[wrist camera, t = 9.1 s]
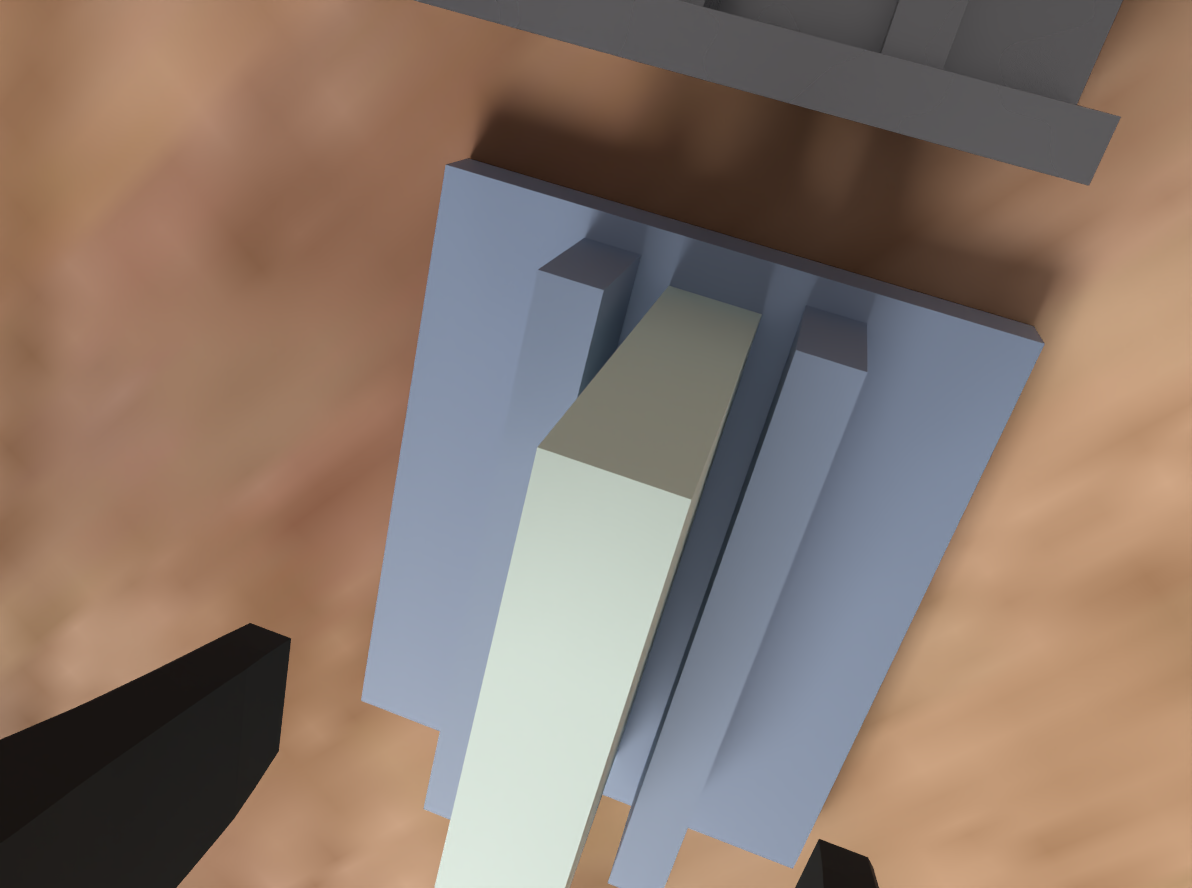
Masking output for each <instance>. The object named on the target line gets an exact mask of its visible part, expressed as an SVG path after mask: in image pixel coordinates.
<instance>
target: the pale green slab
mask: <svg viewBox="0 0 1192 888" xmlns="http://www.w3.org/2000/svg"><path fill="white" fill-rule="evenodd" d="M761 316H762V314H759V313H756V312H753V311H750V310H746V309H743V308H740V307H737V306H733V305H730V304H727V303H724V302H720V301H717V300H714V299H711V298H707V297H704V296H701V295H698V294H694V293H691V292H688V291H685V290H682V289H678V288H675V287H672V286H668V287H667V289H666V290H665V291H664V292H663V293H662V295H661V296H660V297H659V298H658V300H657V301H656V302H655V303H654V305H653V306H652V307H651V308H650V309H649V311H648V312H647V313H646V314H645V316H644V317H643V318H642V319H641V321H640V322H639V323H638V324H637V325H636V327H635V328H634V329H633V330H632V332H631V333H630V334H629V335H628V336H627V338H626V339H625V340H624V341H623V343H622V344H621V345H620V346H619V348H618V349H617V350H616V351H615V352H614V354H613V355H612V356H611V357H610V359H609V360H608V361H607V362H606V363H605V365H604V366H603V367H602V368H601V370H600V371H599V372H598V373H597V375H596V376H595V377H594V378H593V379H592V381H591V382H590V383H589V384H588V386H587V387H586V388H585V389H584V391H583V392H582V393H581V394H580V395H579V397H578V398H577V399H576V400H575V402H574V403H573V404H572V405H571V406H570V408H569V409H568V410H567V411H566V413H565V414H564V415H563V416H562V418H561V419H560V420H559V421H558V422H557V424H556V425H555V426H554V427H553V429H552V430H551V431H550V432H549V433H548V435H547V436H546V437H545V438H544V440H543V441H542V442H541V443H540V445H539V446H538V447H537V451H536V455H535V459H534V463H533V468H532V472H531V476H530V481H529V485H528V489H527V493H526V498H525V502H524V506H523V511H522V515H521V519H520V524H519V528H518V532H517V536H516V541H515V545H514V549H513V554H512V558H511V562H510V566H509V571H508V575H507V579H506V584H505V588H504V592H503V596H502V601H501V605H500V609H499V614H498V618H497V622H496V626H495V631H494V635H493V639H492V644H491V648H490V652H489V656H488V661H487V665H486V669H485V674H484V678H483V682H482V686H481V691H480V695H479V699H478V704H477V708H476V712H475V717H474V721H473V725H472V729H471V734H470V738H469V742H468V747H467V751H466V755H465V759H464V764H463V768H462V772H461V777H460V781H459V785H458V789H457V794H456V798H455V802H454V807H453V811H452V815H451V819H450V824H449V828H448V832H447V837H446V841H445V845H444V849H443V854H442V858H441V862H440V867H439V871H438V875H437V880H436V884H435V888H570V885H571V883H572V880H573V877H574V874H575V871H576V868H577V865H578V863H579V860H580V857H581V854H582V851H583V848H584V845H585V843H586V840H587V837H588V834H589V831H590V828H591V825H592V822H593V820H594V817H595V814H596V811H597V808H598V805H599V802H600V800H601V797H602V794H603V791H604V788H605V785H606V782H607V780H608V777H609V774H610V771H611V768H612V765H613V762H614V759H615V757H616V754H617V751H618V748H619V745H620V742H621V738H622V735H623V732H624V729H625V726H626V723H627V720H628V717H629V714H630V711H631V708H632V705H633V702H634V699H635V696H636V693H637V690H638V687H639V684H640V681H641V678H642V675H643V672H644V669H645V666H646V663H647V660H648V657H649V654H650V651H651V648H652V645H653V642H654V639H655V636H656V633H657V630H658V627H659V624H660V621H661V618H662V615H663V612H664V609H665V606H666V603H667V600H668V596H669V593H670V590H671V587H672V584H673V581H674V578H675V575H676V572H677V569H678V566H679V563H680V560H681V557H682V554H683V551H684V548H685V545H686V542H687V539H688V536H689V533H690V530H691V527H692V524H693V521H694V518H695V515H696V512H697V509H698V506H699V503H700V500H701V497H702V494H703V491H704V488H705V485H706V482H707V479H708V476H709V473H710V470H711V467H712V464H713V461H714V458H715V455H716V451H717V448H718V445H719V442H720V439H721V436H722V433H723V430H724V427H725V424H726V421H727V418H728V415H729V412H730V409H731V406H732V403H733V400H734V397H735V394H736V391H737V388H738V385H739V382H740V379H741V376H742V373H743V370H744V367H745V364H746V361H747V358H748V355H749V352H750V349H751V346H752V343H753V340H754V337H755V334H756V331H757V328H758V325H759V322H760V319H761Z"/></svg>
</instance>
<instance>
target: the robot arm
mask: <svg viewBox="0 0 1192 888" xmlns="http://www.w3.org/2000/svg"><path fill="white" fill-rule="evenodd" d="M290 643H291V638H288V637H286V636H283V635H280V634H278V633H275V632H273V631H270V630H267V629H265V628H262V627H259V626H257V625H254V624H251V623H249V624H247V625H245V626H243V627H241V628H239V629H237V630H235V631H233V632H230V633H228V634H226V635H224V636H222V637H220V638H218V639H216V640H214V641H212V642H210V643H208V644H206V645H204V646H202V647H200V648H198V649H196V650H194V651H192V652H190V653H188V654H186V655H184V656H182V657H180V658H178V659H176V660H174V661H172V662H170V663H168V664H166V665H164V666H162V667H160V668H158V669H156V670H154V671H152V672H150V673H148V674H146V675H144V676H142V677H139V678H137V679H135V680H133V681H131V682H129V683H127V684H125V685H123V686H120V687H118V688H116V689H114V690H112V691H110V692H108V693H106V694H104V695H102V696H99V697H97V698H95V699H93V700H91V701H89V702H87V703H84V704H82V705H80V706H78V707H76V708H73V709H71V710H69V711H66V712H64V713H62V714H59V715H57V716H55V717H52V718H50V719H48V720H45V721H43V722H41V723H38V724H36V725H34V726H31V727H29V728H27V729H24V730H22V731H20V732H17V733H15V734H13V735H10V736H8V737H6V738H3V739H1V740H0V888H176V887H177V886H178V885H179V884H180V883H181V882H182V880H183V879H184V878H185V877H186V876H187V874H188V873H189V872H190V871H191V870H192V869H193V867H194V866H195V865H196V864H197V863H198V861H199V860H200V859H201V858H202V857H203V855H204V854H205V853H206V852H207V851H208V849H209V848H210V847H211V846H212V845H213V843H214V842H215V841H216V840H217V839H218V837H219V836H220V835H221V834H222V833H223V831H224V830H225V829H226V828H227V827H228V825H229V824H230V823H231V822H232V820H233V819H234V818H235V816H236V815H237V814H238V812H239V811H240V809H241V808H242V806H243V805H244V803H245V802H246V800H247V799H248V797H249V796H250V794H251V793H252V791H253V790H254V789H255V787H256V785H257V784H258V782H259V781H260V779H261V778H262V776H263V775H264V773H265V771H266V770H267V768H268V767H269V765H270V764H271V762H272V761H273V759H274V758H275V756H276V754H277V753H278V751H279V743H280V734H281V725H282V716H283V707H284V698H285V689H286V680H287V671H288V661H289V652H290ZM795 888H879V886H878V883H877V880H876V876H875V873H874V869H873V866H872V864H871V863H870V861H869V859H868V857H865V856H863V855H860V854H857V853H855V852H852V851H850V850H847V849H844V848H842V847H839V846H836V845H834V844H831V843H829V842H826V841H823V840H821V839H819V840H818V842H817V844H816V846H815V848H814V850H813V852H812V854H811V856H810V858H809V860H808V863H807V865H806V867H805V869H804V871H803V873H802V875H801V877H800V879H799V881H798V883H797V885H796V887H795Z"/></svg>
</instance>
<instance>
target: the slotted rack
mask: <svg viewBox="0 0 1192 888" xmlns="http://www.w3.org/2000/svg"><path fill="white" fill-rule="evenodd" d="M415 1H418V2H422V3H426V4H429V5H433V6H436V7H440V8H444V9H447V10H451V11H455V12H458V13H462V14H466V15H469V16H473V17H477V18H480V19H484V20H487V21H491V22H495V23H498V24H502V25H506V26H509V27H513V28H517V29H520V30H524V31H528V32H531V33H535V34H538V35H542V36H546V37H549V38H553V39H557V40H560V41H564V42H568V43H571V44H575V45H579V46H582V47H586V48H589V49H593V50H597V51H600V52H604V53H608V54H611V55H615V56H619V57H622V58H626V59H630V60H633V61H637V62H640V63H644V64H648V65H651V66H655V67H659V68H662V69H666V70H670V71H673V72H677V73H680V74H684V75H688V76H691V77H695V78H699V79H702V80H706V81H710V82H713V83H717V84H721V85H724V86H728V87H731V88H735V89H739V90H742V91H746V92H750V93H753V94H757V95H761V96H764V97H768V98H772V99H775V100H779V101H782V102H786V103H790V104H793V105H797V106H801V107H804V108H808V109H812V110H815V111H819V112H823V113H826V114H830V115H833V116H837V117H841V118H844V119H848V120H852V121H855V122H859V123H863V124H866V125H870V126H874V127H877V128H881V129H884V130H888V131H892V132H895V133H899V134H903V135H906V136H910V137H914V138H917V139H921V140H925V141H928V142H932V143H935V144H939V145H943V146H946V147H950V148H954V149H957V150H961V151H965V152H968V153H972V154H976V155H979V156H983V157H986V158H990V159H994V160H997V161H1001V162H1005V163H1008V164H1012V165H1016V166H1019V167H1023V168H1027V169H1030V170H1034V171H1037V172H1041V173H1045V174H1048V175H1052V176H1056V177H1059V178H1063V179H1067V180H1070V181H1074V182H1078V183H1081V184H1085V185H1088V186H1089V185H1090V182H1091V180H1092V178H1093V176H1094V174H1095V172H1096V169H1097V167H1098V165H1099V163H1100V161H1101V159H1102V157H1103V154H1104V152H1105V150H1106V148H1107V146H1108V144H1109V141H1110V139H1111V137H1112V135H1113V133H1114V131H1115V129H1116V126H1117V124H1118V122H1119V120H1120V118H1121V117H1120V116H1116V115H1112V114H1109V113H1105V112H1101V111H1098V110H1094V109H1090V108H1086V107H1083V106H1079V105H1077V103H1078V101H1079V98H1080V96H1081V94H1082V92H1083V89H1084V87H1085V85H1086V83H1087V80H1088V78H1089V76H1090V74H1091V71H1092V69H1093V67H1094V65H1095V62H1096V60H1097V58H1098V55H1099V53H1100V51H1101V49H1102V46H1103V44H1104V42H1105V40H1106V37H1107V35H1108V33H1109V31H1110V28H1111V26H1112V24H1113V22H1114V19H1115V17H1116V15H1117V12H1118V10H1119V8H1120V6H1121V3H1122V1H1123V0H415Z"/></svg>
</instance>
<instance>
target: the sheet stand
mask: <svg viewBox="0 0 1192 888" xmlns="http://www.w3.org/2000/svg"><path fill="white" fill-rule="evenodd" d="M668 286H672V287H675V288H678V289H682V290H685V291H688V292H691V293H694V294H698V295H701V296H704V297H707V298H711V299H714V300H717V301H720V302H724V303H727V304H730V305H733V306H737V307H740V308H743V309H746V310H750V311H753V312H756V313H759V314H762V316H761V319H760V322H759V325H758V328H757V331H756V334H755V337H754V340H753V343H752V346H751V349H750V352H749V355H748V358H747V361H746V364H745V367H744V370H743V373H742V376H741V379H740V382H739V385H738V388H737V391H736V394H735V397H734V400H733V403H732V406H731V409H730V412H729V415H728V418H727V421H726V424H725V427H724V430H723V433H722V436H721V439H720V442H719V445H718V448H717V451H716V455H715V458H714V461H713V464H712V467H711V470H710V473H709V476H708V479H707V482H706V485H705V488H704V491H703V494H702V497H701V500H700V503H699V506H698V509H697V512H696V515H695V518H694V521H693V524H692V527H691V530H690V533H689V536H688V539H687V542H686V545H685V548H684V551H683V554H682V557H681V560H680V563H679V566H678V569H677V572H676V575H675V578H674V581H673V584H672V587H671V590H670V593H669V596H668V600H667V603H666V606H665V609H664V612H663V615H662V618H661V621H660V624H659V627H658V630H657V633H656V636H655V639H654V642H653V645H652V648H651V651H650V654H649V657H648V660H647V663H646V666H645V669H644V672H643V675H642V678H641V681H640V684H639V687H638V690H637V693H636V696H635V699H634V702H633V705H632V708H631V711H630V714H629V717H628V720H627V723H626V726H625V729H624V732H623V735H622V738H621V742H620V745H619V748H618V751H617V754H616V757H615V759H614V762H613V765H612V768H611V771H610V774H609V777H608V780H607V782H606V785H605V788H604V791H603V794H602V795H605V796H608V797H610V798H613V799H615V800H618V801H620V802H623V803H626V804H628V805H631V809H630V812H629V815H628V818H627V822H626V825H625V828H624V832H623V835H622V838H621V841H620V845H619V848H618V851H617V854H616V858H615V861H614V864H613V868H612V871H611V874H610V877H609V881H608V883H609V884H611V885H614V886H616V887H619V888H664V887H665V884H666V882H667V879H668V877H669V874H670V872H671V869H672V867H673V864H674V862H675V859H676V857H677V854H678V851H679V849H680V846H681V844H682V841H683V839H684V836H685V834H686V831H687V829H688V828H690V829H692V830H695V831H697V832H700V833H703V834H705V835H708V836H710V837H713V838H715V839H718V840H721V841H723V842H726V843H728V844H731V845H733V846H736V847H738V848H741V849H744V850H746V851H749V852H751V853H754V854H756V855H759V856H762V857H764V858H767V859H769V860H772V861H774V862H777V863H780V864H782V865H785V866H787V867H790V868H792V869H793V867H794V865H795V863H796V861H797V859H798V857H799V855H800V853H801V851H802V849H803V847H804V844H805V842H806V840H807V838H808V836H809V834H810V832H811V830H812V828H813V826H814V824H815V822H816V819H817V817H818V815H819V813H820V811H821V809H822V807H823V805H824V803H825V801H826V799H827V797H828V794H829V792H830V790H831V788H832V786H833V784H834V782H835V780H836V778H837V776H838V774H839V771H840V769H841V767H842V765H843V763H844V761H845V759H846V757H847V755H848V753H849V751H850V749H851V746H852V744H853V742H854V740H855V738H856V736H857V734H858V732H859V730H860V728H861V726H862V724H863V721H864V719H865V717H866V715H867V713H868V711H869V709H870V707H871V705H872V703H873V701H874V699H875V696H876V694H877V692H878V690H879V688H880V686H881V684H882V682H883V680H884V678H885V676H886V673H887V671H888V669H889V667H890V665H891V663H892V661H893V659H894V657H895V655H896V653H897V651H898V648H899V646H900V644H901V642H902V640H903V638H904V636H905V634H906V632H907V630H908V628H909V626H910V623H911V621H912V619H913V617H914V615H915V613H916V611H917V609H918V607H919V605H920V603H921V601H922V598H923V596H924V594H925V592H926V590H927V588H928V586H929V584H930V582H931V580H932V578H933V576H934V573H935V571H936V569H937V567H938V565H939V563H940V561H941V559H942V557H943V555H944V553H945V550H946V548H947V546H948V544H949V542H950V540H951V538H952V536H953V534H954V532H955V530H956V528H957V525H958V523H959V521H960V519H961V517H962V515H963V513H964V511H965V509H966V507H967V505H968V503H969V500H970V498H971V496H972V494H973V492H974V490H975V488H976V486H977V484H978V482H979V480H980V478H981V475H982V473H983V471H984V469H985V467H986V465H987V463H988V461H989V459H990V457H991V455H992V452H993V450H994V448H995V446H996V444H997V442H998V440H999V438H1000V436H1001V434H1002V432H1003V430H1004V427H1005V425H1006V423H1007V421H1008V419H1009V417H1010V415H1011V413H1012V411H1013V409H1014V407H1015V405H1016V402H1017V400H1018V398H1019V396H1020V394H1021V392H1022V390H1023V388H1024V386H1025V384H1026V382H1027V380H1028V377H1029V375H1030V373H1031V371H1032V369H1033V367H1034V365H1035V363H1036V361H1037V359H1038V357H1039V354H1040V352H1041V350H1042V348H1043V346H1044V342H1043V340H1042V339H1041V337H1040V335H1039V334H1038V332H1037V331H1036V329H1035V327H1034V326H1031V325H1028V324H1024V323H1021V322H1017V321H1014V320H1011V319H1007V318H1004V317H1001V316H997V315H994V314H990V313H987V312H984V311H980V310H977V309H974V308H970V307H967V306H964V305H960V304H957V303H953V302H950V301H947V300H943V299H940V298H937V297H933V296H930V295H927V294H923V293H920V292H916V291H913V290H910V289H906V288H903V287H900V286H896V285H893V284H890V283H886V282H883V281H879V280H876V279H873V278H869V277H866V276H863V275H859V274H856V273H853V272H849V271H846V270H842V269H839V268H836V267H832V266H829V265H826V264H822V263H819V262H816V261H812V260H809V259H805V258H802V257H799V256H795V255H792V254H789V253H785V252H782V251H778V250H775V249H772V248H768V247H765V246H762V245H758V244H755V243H752V242H748V241H745V240H741V239H738V238H735V237H731V236H728V235H725V234H721V233H718V232H715V231H711V230H708V229H704V228H701V227H698V226H694V225H691V224H688V223H684V222H681V221H678V220H674V219H671V218H667V217H664V216H661V215H657V214H654V213H651V212H647V211H644V210H641V209H637V208H634V207H630V206H627V205H624V204H620V203H617V202H614V201H610V200H607V199H604V198H600V197H597V196H593V195H590V194H587V193H583V192H580V191H577V190H573V189H570V188H567V187H563V186H560V185H556V184H553V183H550V182H546V181H543V180H540V179H536V178H533V177H529V176H526V175H523V174H519V173H516V172H513V171H509V170H506V169H503V168H499V167H496V166H492V165H489V164H486V163H482V162H479V161H476V160H472V159H469V158H468V159H464V160H461V161H457V162H454V163H450V164H446V167H445V173H444V180H443V186H442V192H441V199H440V205H439V211H438V217H437V224H436V230H435V236H434V243H433V249H432V255H431V262H430V268H429V274H428V281H427V287H426V293H425V300H424V306H423V312H422V319H421V325H420V331H419V338H418V344H417V350H416V357H415V363H414V369H413V376H412V382H411V388H410V395H409V401H408V407H407V414H406V420H405V426H404V433H403V439H402V445H401V451H400V458H399V464H398V470H397V477H396V483H395V489H394V496H393V502H392V508H391V515H390V521H389V527H388V534H387V540H386V546H385V553H384V559H383V565H382V572H381V578H380V584H379V591H378V597H377V603H376V610H375V616H374V622H373V629H372V635H371V641H370V648H369V654H368V660H367V667H366V673H365V679H364V685H363V692H362V698H361V701H364V702H366V703H369V704H371V705H374V706H376V707H379V708H382V709H384V710H387V711H389V712H392V713H394V714H397V715H400V716H402V717H405V718H407V719H410V720H412V721H415V722H418V723H420V724H423V725H425V726H428V727H430V728H433V729H436V730H438V731H440V734H439V738H438V743H437V748H436V752H435V757H434V762H433V767H432V771H431V776H430V781H429V786H428V790H427V795H426V800H425V804H424V809H425V810H428V811H430V812H433V813H435V814H437V815H440V816H442V817H445V818H447V819H451V815H452V811H453V807H454V802H455V798H456V794H457V789H458V785H459V781H460V777H461V772H462V768H463V764H464V759H465V755H466V751H467V747H468V742H469V738H470V734H471V729H472V725H473V721H474V717H475V712H476V708H477V704H478V699H479V695H480V691H481V686H482V682H483V678H484V674H485V669H486V665H487V661H488V656H489V652H490V648H491V644H492V639H493V635H494V631H495V626H496V622H497V618H498V614H499V609H500V605H501V601H502V596H503V592H504V588H505V584H506V579H507V575H508V571H509V566H510V562H511V558H512V554H513V549H514V545H515V541H516V536H517V532H518V528H519V524H520V519H521V515H522V511H523V506H524V502H525V498H526V493H527V489H528V485H529V481H530V476H531V472H532V468H533V463H534V459H535V455H536V451H537V447H538V446H539V445H540V443H541V442H542V441H543V440H544V438H545V437H546V436H547V435H548V433H549V432H550V431H551V430H552V429H553V427H554V426H555V425H556V424H557V422H558V421H559V420H560V419H561V418H562V416H563V415H564V414H565V413H566V411H567V410H568V409H569V408H570V406H571V405H572V404H573V403H574V402H575V400H576V399H577V398H578V397H579V395H580V394H581V393H582V392H583V391H584V389H585V388H586V387H587V386H588V384H589V383H590V382H591V381H592V379H593V378H594V377H595V376H596V375H597V373H598V372H599V371H600V370H601V368H602V367H603V366H604V365H605V363H606V362H607V361H608V360H609V359H610V357H611V356H612V355H613V354H614V352H615V351H616V350H617V349H618V348H619V346H620V345H621V344H622V343H623V341H624V340H625V339H626V338H627V336H628V335H629V334H630V333H631V332H632V330H633V329H634V328H635V327H636V325H637V324H638V323H639V322H640V321H641V319H642V318H643V317H644V316H645V314H646V313H647V312H648V311H649V309H650V308H651V307H652V306H653V305H654V303H655V302H656V301H657V300H658V298H659V297H660V296H661V295H662V293H663V292H664V291H665V290H666V289H667V287H668Z"/></svg>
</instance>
